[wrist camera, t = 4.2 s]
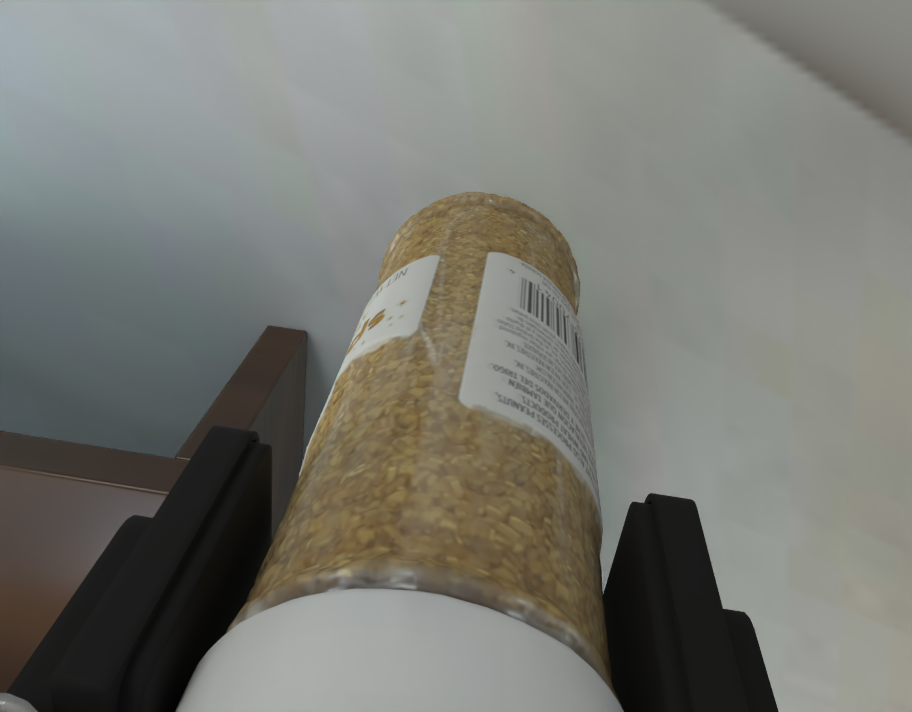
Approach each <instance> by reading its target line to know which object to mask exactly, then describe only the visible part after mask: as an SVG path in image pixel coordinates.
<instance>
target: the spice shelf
mask: <svg viewBox="0 0 912 712" xmlns="http://www.w3.org/2000/svg"><path fill="white" fill-rule="evenodd" d="M306 348H307V332H306V331H302V330H296V329H289V328H283V327H276V326H267V328H266V329H265V331H264V332H263V334H262V335H261V336H260V338H259V339H258V341H257V342H256V343H255V345H254V346H253V348H252V349H251V350H250V352H249V353H248V355H247V356H246V358H245V359H244V360H243V362H242V363H241V365H240V366H239V367H238V369H237V370H236V372H235V373H234V374H233V376H232V377H231V379H230V380H229V382H228V383H227V384H226V386H225V387H224V389H223V390H222V391H221V393H220V394H219V396H218V397H217V398H216V400H215V401H214V403H213V404H212V406H211V407H210V408H209V410H208V411H207V413H206V414H205V415H204V417H203V418H202V420H201V421H200V423H199V424H198V425H197V427H196V428H195V430H194V431H193V432H192V434H191V435H190V437H189V438H188V439H187V441H186V442H185V444H184V445H183V447H182V448H181V449H180V451H179V452H178V454H177V455H176V457H175V459H174V458H167V457H161V456H155V455H149V454H142V453H136V452H130V451H124V450H117V449H111V448H105V447H99V446H92V445H86V444H80V443H74V442H67V441H61V440H55V439H48V438H42V437H36V436H30V435H23V434H17V433H11V432H5V431H0V693H6V692H7V690H8V689H9V688H10V686H11V685H12V683H13V682H14V680H15V679H16V677H17V676H18V675H19V673H20V672H21V670H22V669H23V667H24V666H25V664H26V663H27V661H28V660H29V659H30V657H31V656H32V654H33V653H34V651H35V650H36V648H37V647H38V645H39V644H40V643H41V641H42V640H43V638H44V637H45V635H46V634H47V632H48V631H49V630H50V628H51V627H52V625H53V624H54V622H55V621H56V619H57V618H58V616H59V615H60V614H61V612H62V611H63V609H64V608H65V606H66V605H67V603H68V602H69V600H70V599H71V598H72V596H73V595H74V593H75V592H76V590H77V589H78V587H79V586H80V585H81V583H82V582H83V580H84V579H85V577H86V576H87V574H88V573H89V571H90V570H91V569H92V567H93V566H94V564H95V563H96V561H97V560H98V558H99V557H100V556H101V554H102V553H103V551H104V550H105V548H106V547H107V545H108V544H109V542H110V541H111V540H112V538H113V537H114V535H115V534H116V532H117V531H118V529H119V528H120V527H121V525H122V524H123V523H124V522H125V521H126V520H127V519H128V518H129V517H131V516H133V515H139V516H145V517H152V518H153V517H154V515H155V514H156V512H157V511H158V509H159V507H160V506H161V504H162V503H163V501H164V500H165V498H166V497H167V495H168V494H169V492H170V490H171V489H172V487H173V486H174V484H175V483H176V481H177V480H178V478H179V477H180V475H181V473H182V472H183V470H184V469H185V467H186V466H187V464H188V463H189V461H190V459H191V458H192V456H193V455H194V453H195V452H196V450H197V449H198V447H199V446H200V444H201V442H202V441H203V439H204V438H205V436H206V435H207V433H208V432H209V430H210V429H211V428H212V427H213V426H215V425H218V426H225V427H231V428H238V429H244V430H250V431H256V432H257V433H258V435H259V439H260V443H262V444H269V445H271V447H272V540H273V537H274V535H275V532H276V530H277V527H278V524H279V522H280V520H281V519H282V517H283V515H284V511H285V509H286V506H287V504H288V502H289V500H290V497H291V495H292V493H293V491H294V489H295V487H296V484H297V481H298V478H299V474H300V470H301V467H302V453H303V427H304V401H305V374H306Z"/></svg>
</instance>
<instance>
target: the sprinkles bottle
mask: <svg viewBox="0 0 912 712" xmlns="http://www.w3.org/2000/svg"><path fill="white" fill-rule="evenodd" d="M379 279H380V282H379V285H378V287H377V290H376V292H375V294H374V295H373V296H372V298H371V299H370V301H369V303H368V304H367V306H366V308H365V310H364V312H363V315H362V317H361V320H360V322H359V324H358V327H357V329H356V332H355V334H354V336H353V339H352V341H351V344H350V346H349V348H348V351H347V353H346V356H345V358H344V361H343V363H342V366H341V368H340V371H339V373H338V375H337V378H336V380H335V382H334V385H333V387H332V390H331V392H330V394H329V397H328V399H327V402H326V404H325V406H324V409H323V411H322V413H321V416H320V418H319V420H318V423H317V425H316V427H315V430H314V432H313V434H312V437H311V439H310V442H309V444H308V446H307V450H306V453H305V456H304V460H303V463H302V467H301V470H300V474H299V478H298V481H297V484H296V487H295V489H294V491H293V493H292V495H291V497H290V500H289V502H288V504H287V506H286V509H285V511H284V515H283V517H282V519H281V520H280V522H279V524H278V527H277V530H276V532H275V535H274V537H273V540H272V543H271V545H270V548H269V551H268V553H267V555H266V557H265V559H264V561H263V563H262V565H261V567H260V570H259V572H258V575H257V577H256V580H255V583H254V586H253V588H252V589H251V590H250V592H249V595H248V598H247V601H246V603H245V605H244V606H243V607H242V609H241V610H240V611H239V613H238V614H237V616H236V618H235V620H234V621H233V622H232V623H231V625H230V626H229V627H228V629H227V632H226V634H225V635H224V636H223V637H222V638H221V639H220V640H219V641H218V642H216V643H215V644H214V645H213V646H212V647H211V648H210V649H209V650H208V652H207V653H206V654H205V655H204V657H203V658H202V659H201V661H200V662H199V663H198V665H197V667H196V669H195V671H194V673H193V675H192V677H191V679H190V681H189V682H188V684H187V686H186V689H185V691H184V693H183V695H182V698H181V700H180V702H179V704H178V706H177V709H176V711H175V712H624V711H623V709H622V707H621V703H620V701H619V699H618V697H617V695H616V693H615V691H614V689H613V686H612V683H611V666H610V659H609V651H608V642H607V631H606V623H605V612H604V602H603V592H602V571H601V564H600V551H601V544H602V533H603V527H602V517H601V508H600V499H599V490H598V481H597V472H596V462H595V453H594V443H593V434H592V424H591V415H590V405H589V395H588V385H587V376H586V367H585V358H584V348H583V340H582V334H581V330H580V326H579V323H578V320H577V318H576V316H577V312H578V307H579V299H580V281H579V277H578V272H577V265H576V262H575V260H574V258H573V256H572V252H571V250H570V247H569V245H568V243H567V241H566V240H565V238H564V237H563V235H562V234H561V233H560V232H559V231H558V230H557V229H556V228H555V227H554V225H553V224H552V223H551V222H550V221H549V220H548V219H547V218H545V217H544V216H543V215H542V214H541V213H540V212H538V211H536V210H534V209H532V208H531V207H529V206H527V205H525V204H524V203H521V202H518V201H516V200H514V199H512V198H509V197H501V196H498V195H494V194H486V193H481V192H467V193H463V194H458V195H453V196H450V197H447V198H444V199H442V200H439V201H437V202H435V203H433V204H431V205H430V206H429V207H427V208H425V209H422V210H421V211H420V212H418V213H417V214H416V215H414V216H412V217H411V218H410V219H409V220H408V221H407V222H405V223H404V225H403V226H402V227H401V228H400V229H399V231H398V232H397V233H396V235H395V237H394V239H393V240H392V242H391V243H390V245H389V246H388V249H387V251H386V254H385V257H384V259H383V263H382V267H381V270H380V277H379Z"/></svg>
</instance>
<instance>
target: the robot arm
mask: <svg viewBox="0 0 912 712" xmlns="http://www.w3.org/2000/svg"><path fill="white" fill-rule="evenodd" d="M271 543H272V447H271V445H269V444H262V443H260V439H259V435H258V433H257V432H256V431H250V430H244V429H238V428H231V427H225V426H218V425H215V426H213V427H212V428H211V429H210V430H209V432H208V433H207V435H206V436H205V438H204V439H203V441H202V442H201V444H200V446H199V447H198V449H197V450H196V452H195V453H194V455H193V456H192V458H191V459H190V461H189V463H188V464H187V466H186V467H185V469H184V470H183V472H182V473H181V475H180V477H179V478H178V480H177V481H176V483H175V484H174V486H173V487H172V489H171V490H170V492H169V494H168V495H167V497H166V498H165V500H164V501H163V503H162V504H161V506H160V507H159V509H158V511H157V512H156V514H155V515H154V517H153V518H152V517H145V516H139V515H133V516H131V517H129V518H128V519H127V520H126V521H125V522H124V523H123V524H122V525H121V527H120V528H119V529H118V531H117V532H116V534H115V535H114V537H113V538H112V540H111V541H110V542H109V544H108V545H107V547H106V548H105V550H104V551H103V553H102V554H101V556H100V557H99V558H98V560H97V561H96V563H95V564H94V566H93V567H92V569H91V570H90V571H89V573H88V574H87V576H86V577H85V579H84V580H83V582H82V583H81V585H80V586H79V587H78V589H77V590H76V592H75V593H74V595H73V596H72V598H71V599H70V600H69V602H68V603H67V605H66V606H65V608H64V609H63V611H62V612H61V614H60V615H59V616H58V618H57V619H56V621H55V622H54V624H53V625H52V627H51V628H50V630H49V631H48V632H47V634H46V635H45V637H44V638H43V640H42V641H41V643H40V644H39V645H38V647H37V648H36V650H35V651H34V653H33V654H32V656H31V657H30V659H29V660H28V661H27V663H26V664H25V666H24V667H23V669H22V670H21V672H20V673H19V675H18V676H17V677H16V679H15V680H14V682H13V683H12V685H11V686H10V688H9V689H8V690H7V692H6V693H0V712H175V711H176V709H177V706H178V704H179V702H180V700H181V698H182V695H183V693H184V691H185V689H186V686H187V684H188V682H189V681H190V679H191V677H192V675H193V673H194V671H195V669H196V667H197V665H198V663H199V662H200V661H201V659H202V658H203V657H204V655H205V654H206V653H207V652H208V650H209V649H210V648H211V647H212V646H213V645H214V644H215V643H216V642H218V641H219V640H220V639H221V638H222V637H223V636H224V635H225V634H226V632H227V629H228V627H229V626H230V625H231V623H232V622H233V621H234V620H235V618H236V616H237V614H238V613H239V611H240V610H241V609H242V607H243V606H244V605H245V603H246V601H247V598H248V595H249V592H250V590H251V589H252V588H253V586H254V583H255V580H256V577H257V575H258V572H259V570H260V567H261V565H262V563H263V561H264V559H265V557H266V555H267V553H268V551H269V548H270V545H271ZM603 602H604V612H605V623H606V631H607V642H608V651H609V659H610V666H611V683H612V686H613V689H614V691H615V693H616V695H617V697H618V699H619V701H620V703H621V707H622V709H623V711H624V712H778V708H777V705H776V702H775V698H774V695H773V691H772V688H771V684H770V681H769V678H768V674H767V671H766V667H765V664H764V661H763V657H762V654H761V650H760V647H759V644H758V640H757V637H756V633H755V630H754V627H753V625H752V622H751V620H750V618H749V617H748V616H747V615H746V613H745V612H740V611H734V610H728V609H723V608H722V604H721V600H720V596H719V592H718V588H717V584H716V580H715V576H714V572H713V569H712V565H711V561H710V557H709V553H708V549H707V545H706V541H705V537H704V534H703V530H702V526H701V522H700V518H699V514H698V510H697V507H696V504H695V502H694V501H693V500H691V499H685V498H679V497H672V496H666V495H659V494H653V493H650V494H648V496H647V497H646V500H645V502H644V503H638V502H632V503H631V505H630V507H629V509H628V513H627V516H626V519H625V523H624V526H623V530H622V533H621V536H620V540H619V543H618V546H617V550H616V553H615V557H614V560H613V563H612V567H611V570H610V574H609V577H608V580H607V584H606V587H605V590H604V594H603Z"/></svg>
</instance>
